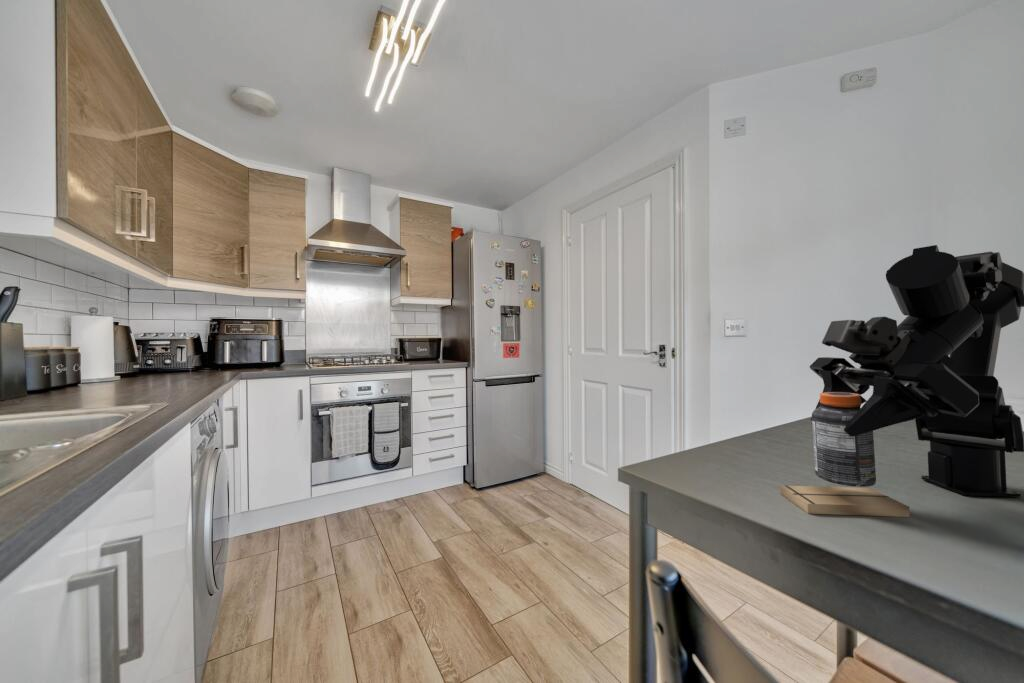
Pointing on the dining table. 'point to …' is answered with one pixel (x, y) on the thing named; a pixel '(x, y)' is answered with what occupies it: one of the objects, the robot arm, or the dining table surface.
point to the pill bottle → (841, 443)
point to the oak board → (844, 501)
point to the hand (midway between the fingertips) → (829, 427)
